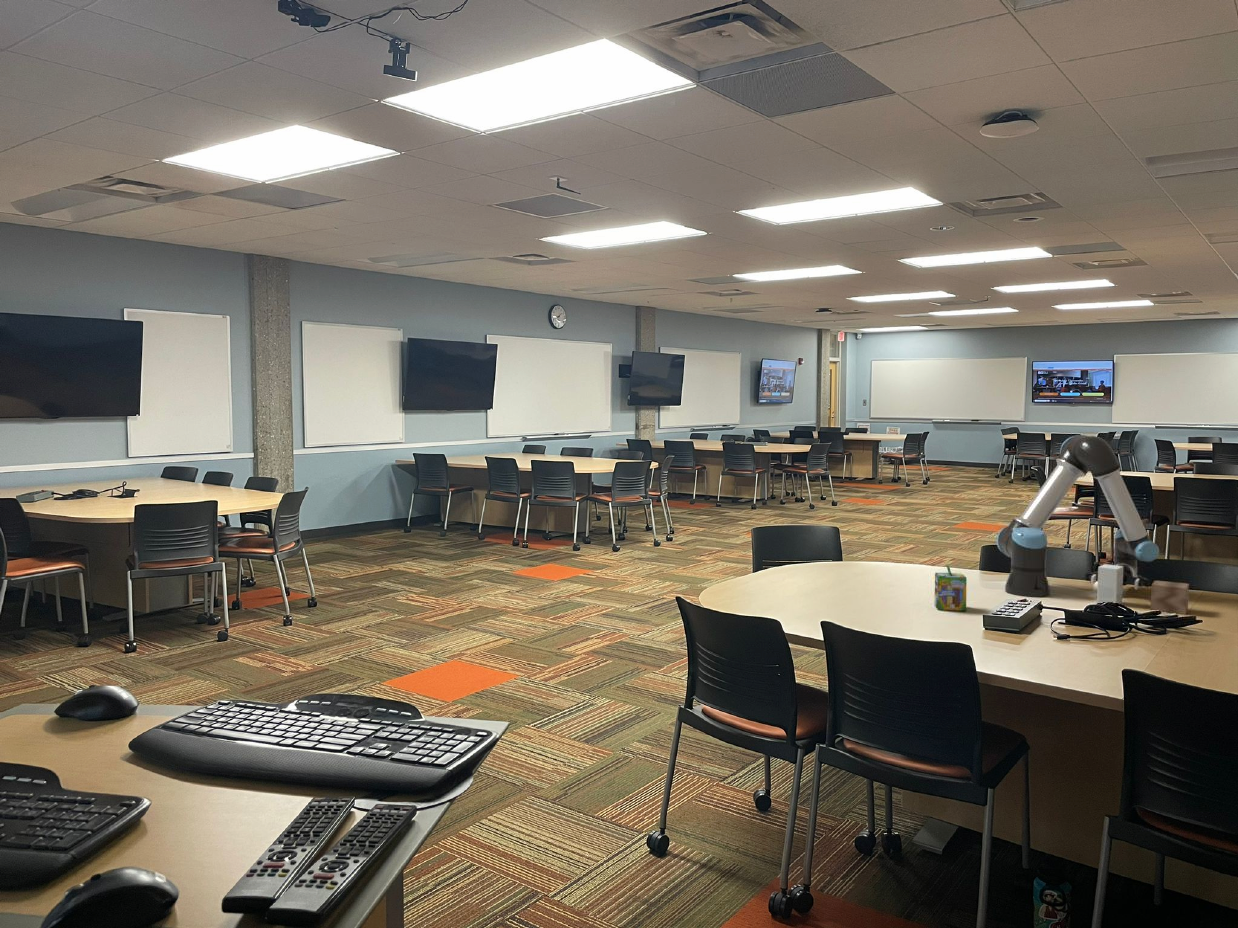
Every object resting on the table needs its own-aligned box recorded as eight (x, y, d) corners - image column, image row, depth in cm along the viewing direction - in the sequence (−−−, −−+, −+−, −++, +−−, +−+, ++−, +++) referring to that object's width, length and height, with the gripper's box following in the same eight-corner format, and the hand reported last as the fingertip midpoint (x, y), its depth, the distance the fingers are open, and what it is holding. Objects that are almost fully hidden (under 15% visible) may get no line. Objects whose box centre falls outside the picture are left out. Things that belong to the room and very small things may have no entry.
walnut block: (1150, 611, 306) (1151, 584, 305) (1153, 606, 314) (1154, 580, 313) (1185, 615, 300) (1186, 588, 300) (1187, 610, 308) (1188, 583, 308)
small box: (1102, 600, 323) (1104, 563, 322) (1122, 602, 319) (1124, 566, 318) (1096, 603, 317) (1097, 566, 316) (1116, 606, 312) (1118, 568, 312)
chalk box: (966, 611, 301) (967, 567, 301) (937, 610, 303) (938, 566, 302) (961, 606, 311) (963, 563, 310) (933, 604, 312) (934, 562, 311)
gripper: (1160, 588, 329) (1154, 598, 311) (1083, 580, 343) (1074, 589, 326) (1161, 568, 328) (1155, 576, 311) (1084, 560, 343) (1074, 568, 326)
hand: (1113, 583), depth 318 cm, fingers open, 13 cm apart
